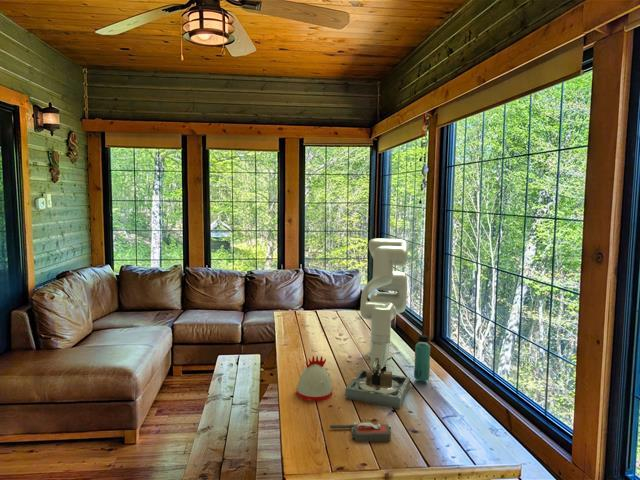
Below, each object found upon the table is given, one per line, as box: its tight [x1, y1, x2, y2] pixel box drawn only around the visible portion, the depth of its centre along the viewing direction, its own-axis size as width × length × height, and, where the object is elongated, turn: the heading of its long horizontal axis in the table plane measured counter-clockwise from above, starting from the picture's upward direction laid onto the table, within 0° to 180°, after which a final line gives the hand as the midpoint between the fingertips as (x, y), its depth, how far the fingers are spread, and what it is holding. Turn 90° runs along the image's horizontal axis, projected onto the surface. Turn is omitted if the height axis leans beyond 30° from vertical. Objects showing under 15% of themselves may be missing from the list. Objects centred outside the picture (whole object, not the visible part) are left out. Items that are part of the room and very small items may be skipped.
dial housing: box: [344, 369, 411, 410], centre depth 174 cm, size 21×21×4 cm
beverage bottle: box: [413, 334, 432, 382], centre depth 185 cm, size 6×7×20 cm
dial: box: [359, 369, 399, 395], centre depth 174 cm, size 16×16×6 cm
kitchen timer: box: [296, 355, 333, 402], centre depth 172 cm, size 14×14×15 cm
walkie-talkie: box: [329, 421, 392, 442], centre depth 142 cm, size 9×4×20 cm
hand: (379, 380), depth 174 cm, fingers open, 9 cm apart
